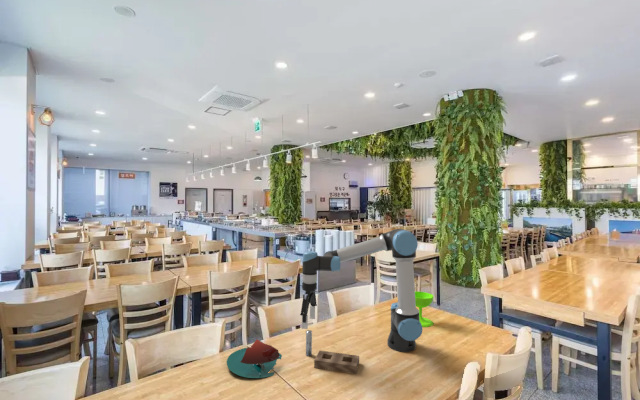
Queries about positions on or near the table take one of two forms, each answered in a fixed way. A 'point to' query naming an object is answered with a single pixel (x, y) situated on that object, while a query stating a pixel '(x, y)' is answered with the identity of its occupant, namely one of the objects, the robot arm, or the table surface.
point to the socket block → (337, 362)
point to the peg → (308, 343)
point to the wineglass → (423, 301)
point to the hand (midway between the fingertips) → (308, 323)
